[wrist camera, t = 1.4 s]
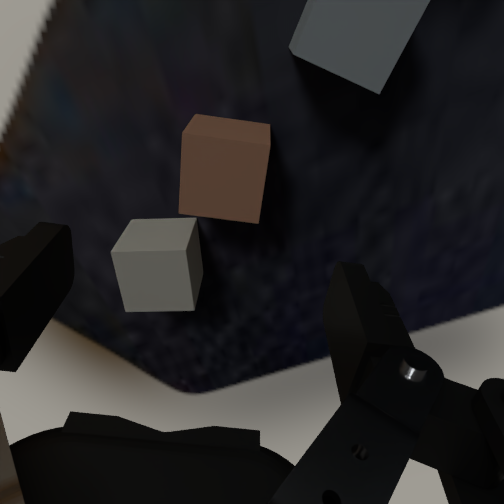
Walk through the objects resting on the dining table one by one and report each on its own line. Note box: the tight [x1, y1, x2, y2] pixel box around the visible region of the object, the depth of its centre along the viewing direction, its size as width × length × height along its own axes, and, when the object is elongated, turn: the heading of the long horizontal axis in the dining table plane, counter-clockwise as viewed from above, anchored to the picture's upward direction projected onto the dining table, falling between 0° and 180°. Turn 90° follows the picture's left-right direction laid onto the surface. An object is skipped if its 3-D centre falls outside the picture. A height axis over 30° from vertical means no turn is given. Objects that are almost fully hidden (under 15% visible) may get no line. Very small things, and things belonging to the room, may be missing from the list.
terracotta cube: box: [179, 114, 271, 224], centre depth 26 cm, size 5×5×5 cm
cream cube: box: [111, 218, 203, 312], centre depth 30 cm, size 5×5×5 cm
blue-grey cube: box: [289, 0, 430, 94], centre depth 22 cm, size 5×5×5 cm
